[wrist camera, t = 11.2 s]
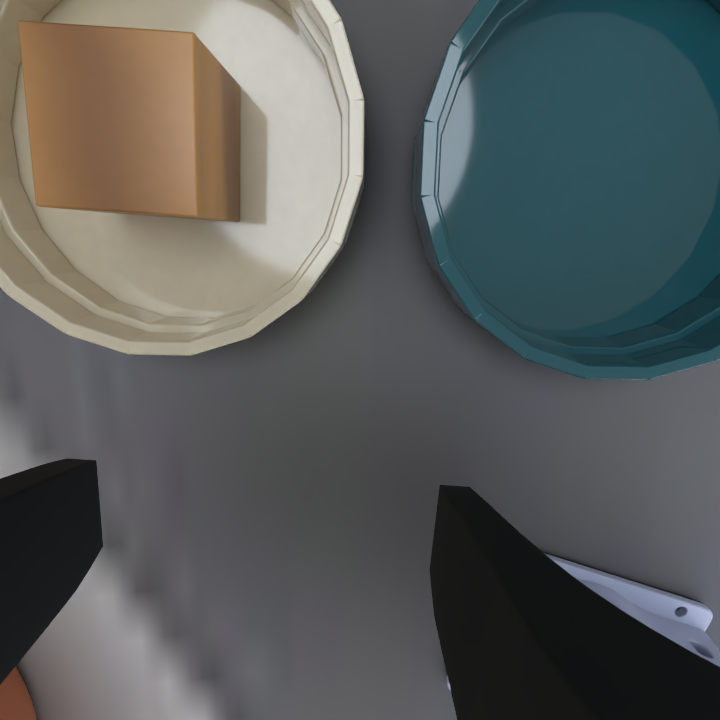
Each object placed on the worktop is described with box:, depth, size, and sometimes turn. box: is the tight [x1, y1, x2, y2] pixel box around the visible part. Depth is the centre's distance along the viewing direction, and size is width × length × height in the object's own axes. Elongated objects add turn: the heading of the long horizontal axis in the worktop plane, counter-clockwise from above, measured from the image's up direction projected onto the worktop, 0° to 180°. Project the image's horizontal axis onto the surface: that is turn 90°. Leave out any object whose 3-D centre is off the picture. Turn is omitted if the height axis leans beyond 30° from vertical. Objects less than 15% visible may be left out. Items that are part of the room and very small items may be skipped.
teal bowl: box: [412, 0, 720, 380], centre depth 15 cm, size 13×13×4 cm
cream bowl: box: [0, 0, 366, 356], centre depth 15 cm, size 13×13×4 cm
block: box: [18, 21, 241, 222], centre depth 14 cm, size 4×4×4 cm
